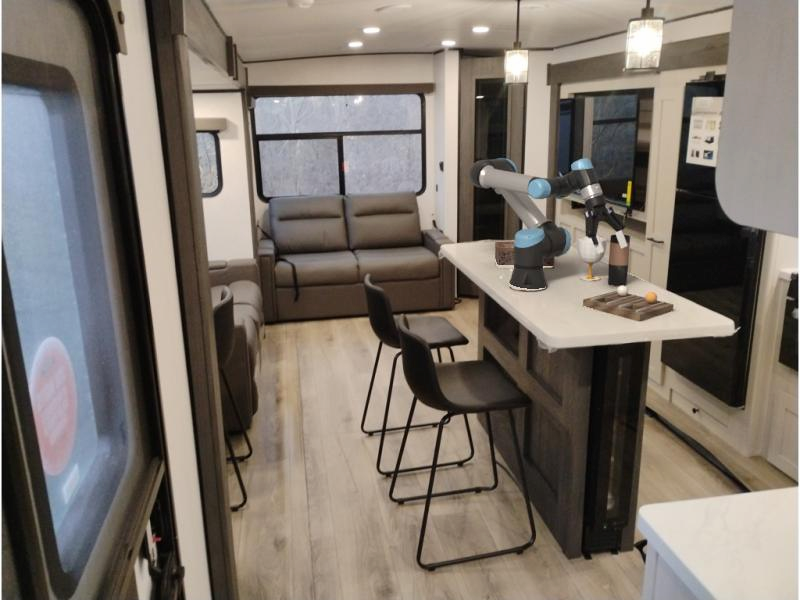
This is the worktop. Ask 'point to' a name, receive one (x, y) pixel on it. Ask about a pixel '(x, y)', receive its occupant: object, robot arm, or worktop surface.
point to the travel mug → (618, 262)
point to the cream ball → (622, 290)
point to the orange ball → (651, 297)
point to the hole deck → (628, 306)
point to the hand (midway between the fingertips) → (613, 250)
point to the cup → (590, 252)
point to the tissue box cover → (512, 254)
